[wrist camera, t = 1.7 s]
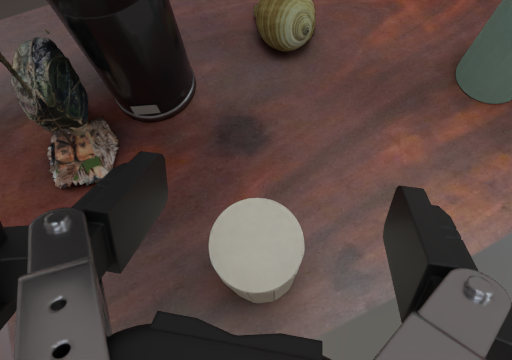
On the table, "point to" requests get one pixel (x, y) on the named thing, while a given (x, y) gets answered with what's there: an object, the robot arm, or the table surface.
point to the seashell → (285, 22)
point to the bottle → (490, 60)
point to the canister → (257, 249)
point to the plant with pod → (61, 113)
